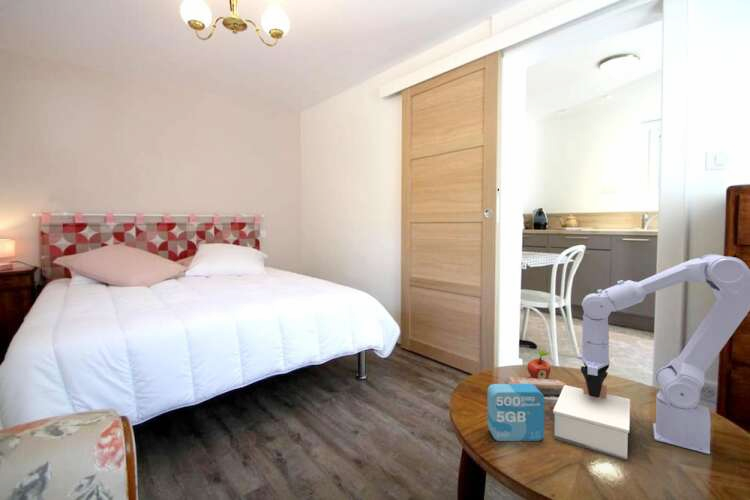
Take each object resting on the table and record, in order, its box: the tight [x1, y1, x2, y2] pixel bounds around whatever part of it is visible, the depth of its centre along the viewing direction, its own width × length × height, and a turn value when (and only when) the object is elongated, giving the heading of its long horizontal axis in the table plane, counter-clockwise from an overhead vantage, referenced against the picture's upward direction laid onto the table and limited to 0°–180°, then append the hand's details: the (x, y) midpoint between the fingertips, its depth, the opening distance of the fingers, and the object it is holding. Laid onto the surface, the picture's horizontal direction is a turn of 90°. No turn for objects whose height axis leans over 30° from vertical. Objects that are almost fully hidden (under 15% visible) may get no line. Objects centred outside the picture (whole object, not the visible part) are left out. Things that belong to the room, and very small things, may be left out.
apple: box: [526, 349, 551, 379], centre depth 114 cm, size 8×7×10 cm
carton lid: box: [552, 380, 631, 434], centre depth 85 cm, size 15×17×3 cm
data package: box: [486, 383, 545, 442], centre depth 84 cm, size 12×4×12 cm, turn 88°
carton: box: [554, 413, 629, 461], centre depth 85 cm, size 14×16×6 cm
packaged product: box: [504, 376, 567, 405], centre depth 105 cm, size 18×5×10 cm
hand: (594, 393), depth 90 cm, fingers open, 3 cm apart
